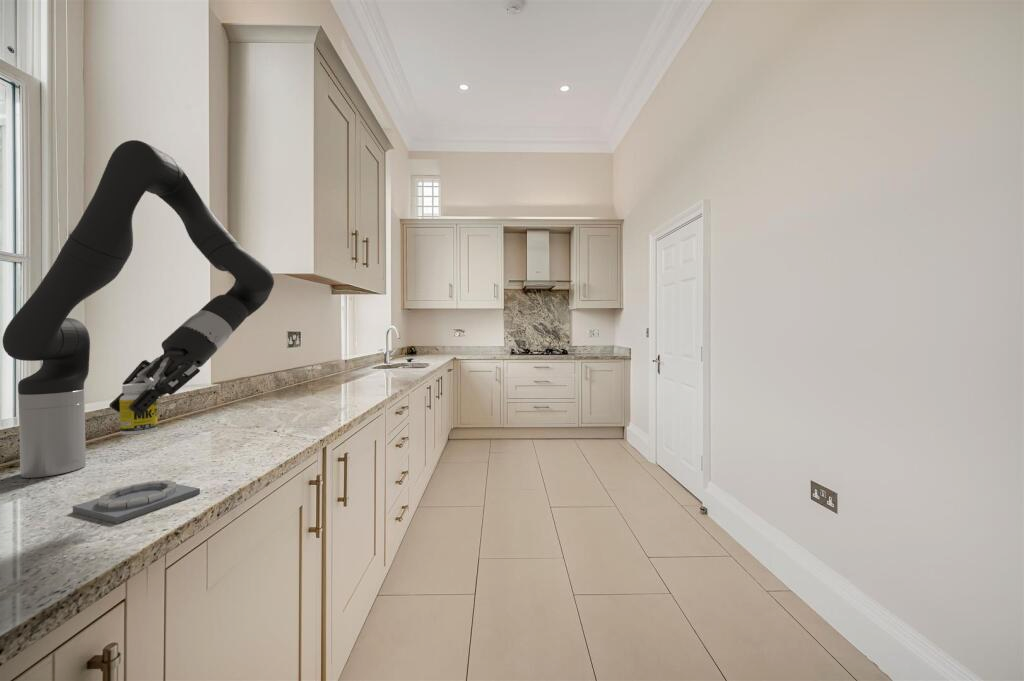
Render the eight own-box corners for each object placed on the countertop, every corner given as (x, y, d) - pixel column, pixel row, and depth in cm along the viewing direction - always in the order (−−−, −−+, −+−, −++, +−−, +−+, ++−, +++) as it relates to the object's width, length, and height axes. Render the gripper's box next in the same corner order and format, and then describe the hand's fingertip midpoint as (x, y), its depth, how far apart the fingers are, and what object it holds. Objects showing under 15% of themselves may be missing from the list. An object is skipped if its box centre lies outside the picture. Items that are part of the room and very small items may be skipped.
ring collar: (85, 504, 66) (85, 498, 66) (154, 483, 75) (154, 478, 75) (121, 513, 63) (121, 506, 63) (189, 489, 72) (189, 484, 72)
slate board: (72, 512, 65) (72, 506, 65) (158, 485, 77) (157, 480, 77) (116, 523, 61) (116, 517, 61) (199, 493, 73) (199, 488, 73)
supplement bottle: (134, 435, 66) (132, 386, 66) (112, 434, 67) (110, 385, 67) (164, 428, 71) (163, 382, 71) (144, 427, 72) (142, 381, 72)
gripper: (159, 325, 78) (78, 395, 67) (209, 324, 73) (130, 400, 62) (190, 350, 83) (119, 419, 72) (238, 351, 78) (170, 425, 67)
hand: (125, 410), depth 67 cm, fingers closed on supplement bottle, 4 cm apart
